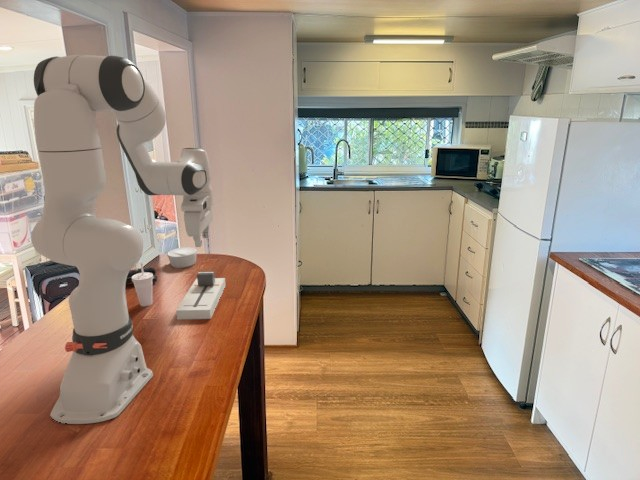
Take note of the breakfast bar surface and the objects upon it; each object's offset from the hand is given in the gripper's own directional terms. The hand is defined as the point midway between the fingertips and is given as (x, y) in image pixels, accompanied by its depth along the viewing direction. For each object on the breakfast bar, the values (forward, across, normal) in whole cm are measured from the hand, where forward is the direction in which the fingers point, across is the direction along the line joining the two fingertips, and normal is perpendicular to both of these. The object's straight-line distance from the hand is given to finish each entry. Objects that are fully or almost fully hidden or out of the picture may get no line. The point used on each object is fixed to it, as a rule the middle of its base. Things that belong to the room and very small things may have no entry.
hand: (202, 241), depth 139 cm
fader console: (+18, +6, 0) cm, 19 cm away
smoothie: (+19, +7, -18) cm, 27 cm away
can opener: (+19, -9, -29) cm, 36 cm away
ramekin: (+18, -29, -16) cm, 38 cm away
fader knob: (+15, 0, 0) cm, 15 cm away
